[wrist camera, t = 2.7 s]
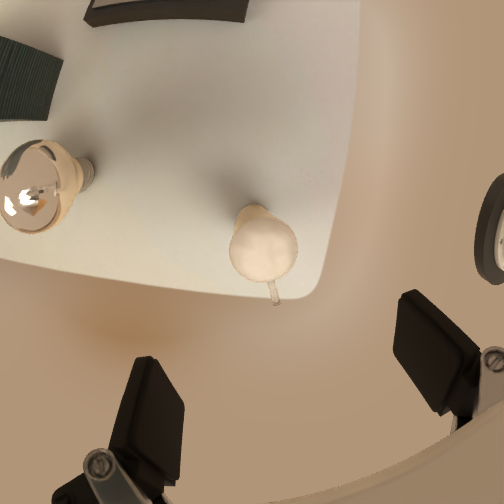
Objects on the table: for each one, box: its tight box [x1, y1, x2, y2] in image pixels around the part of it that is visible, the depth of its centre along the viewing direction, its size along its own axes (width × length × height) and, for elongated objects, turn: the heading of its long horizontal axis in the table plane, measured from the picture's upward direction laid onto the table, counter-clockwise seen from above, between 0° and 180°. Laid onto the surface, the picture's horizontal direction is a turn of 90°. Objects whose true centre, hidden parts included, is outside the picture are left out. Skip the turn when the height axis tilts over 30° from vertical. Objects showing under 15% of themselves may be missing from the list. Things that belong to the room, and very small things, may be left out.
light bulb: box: [0, 139, 94, 234], centre depth 17 cm, size 7×7×12 cm
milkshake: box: [229, 204, 298, 306], centre depth 21 cm, size 5×5×10 cm
